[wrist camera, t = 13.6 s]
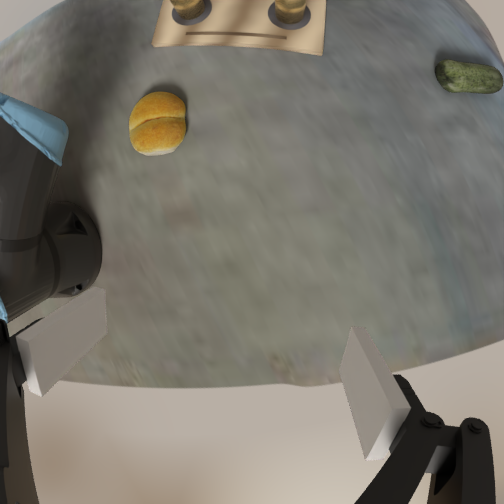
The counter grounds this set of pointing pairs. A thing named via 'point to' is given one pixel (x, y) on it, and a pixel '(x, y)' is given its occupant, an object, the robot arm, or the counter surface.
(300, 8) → the brass bottle
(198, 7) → the gold bottle
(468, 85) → the vegetable
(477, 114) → the counter surface
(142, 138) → the bread roll
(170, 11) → the board
